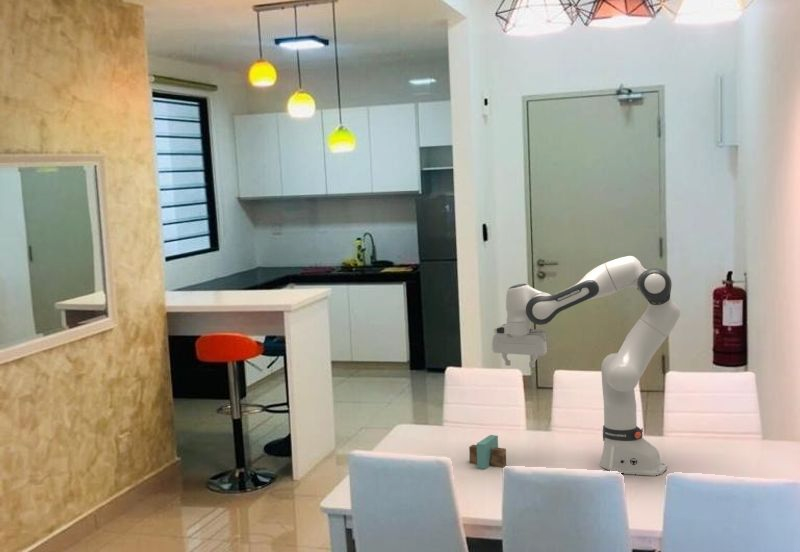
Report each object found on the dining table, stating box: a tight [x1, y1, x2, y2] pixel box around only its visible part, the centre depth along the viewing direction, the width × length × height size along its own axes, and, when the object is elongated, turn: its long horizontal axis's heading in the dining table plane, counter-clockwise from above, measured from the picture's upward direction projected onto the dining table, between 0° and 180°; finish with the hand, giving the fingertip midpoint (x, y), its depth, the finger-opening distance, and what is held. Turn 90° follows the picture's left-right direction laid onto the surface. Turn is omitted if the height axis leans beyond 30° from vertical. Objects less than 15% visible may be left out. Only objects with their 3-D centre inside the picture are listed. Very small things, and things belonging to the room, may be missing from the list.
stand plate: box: [468, 444, 507, 468], centre depth 308 cm, size 13×3×6 cm, turn 60°
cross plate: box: [476, 434, 499, 470], centre depth 308 cm, size 12×3×9 cm, turn 150°
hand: (519, 366), depth 311 cm, fingers open, 8 cm apart
